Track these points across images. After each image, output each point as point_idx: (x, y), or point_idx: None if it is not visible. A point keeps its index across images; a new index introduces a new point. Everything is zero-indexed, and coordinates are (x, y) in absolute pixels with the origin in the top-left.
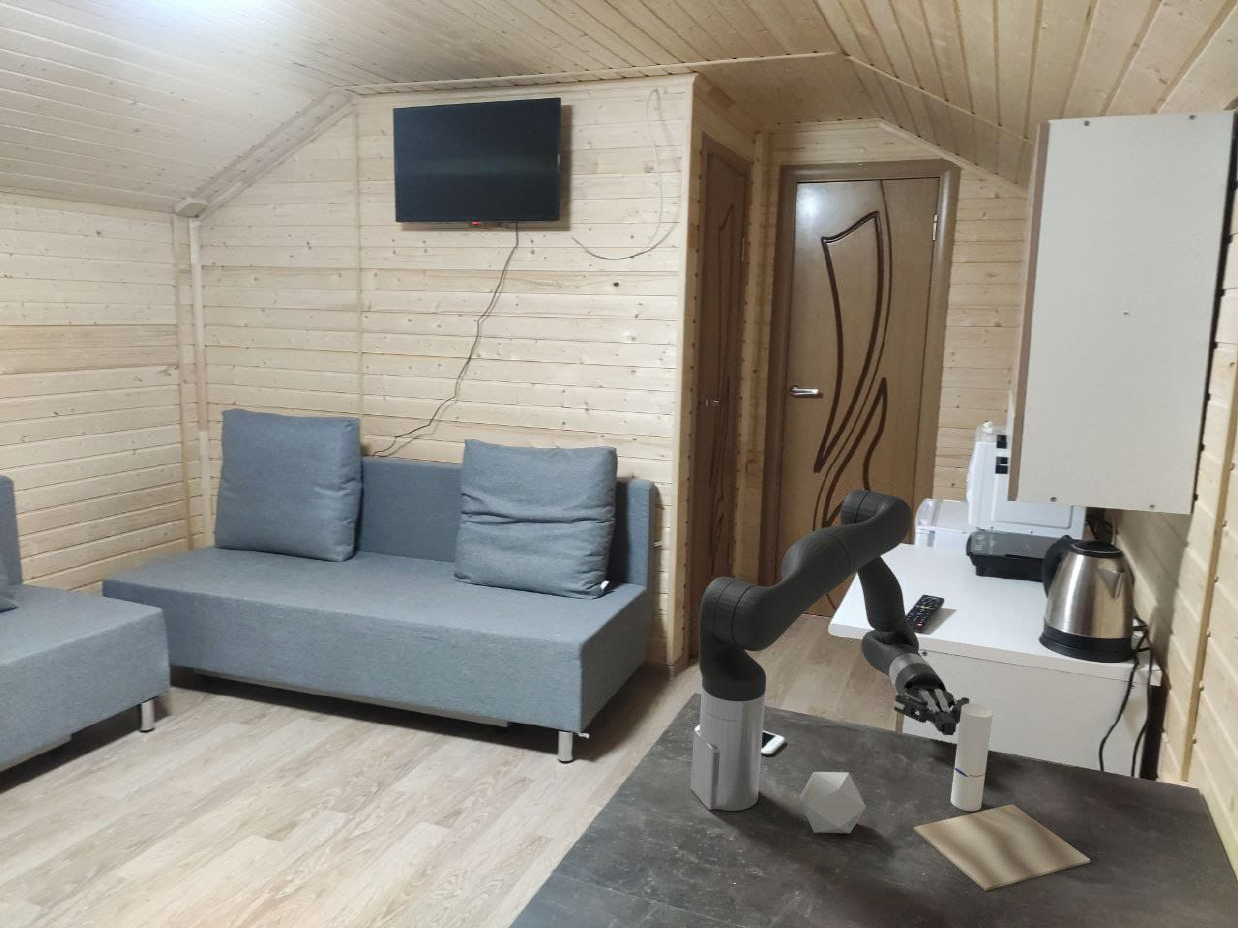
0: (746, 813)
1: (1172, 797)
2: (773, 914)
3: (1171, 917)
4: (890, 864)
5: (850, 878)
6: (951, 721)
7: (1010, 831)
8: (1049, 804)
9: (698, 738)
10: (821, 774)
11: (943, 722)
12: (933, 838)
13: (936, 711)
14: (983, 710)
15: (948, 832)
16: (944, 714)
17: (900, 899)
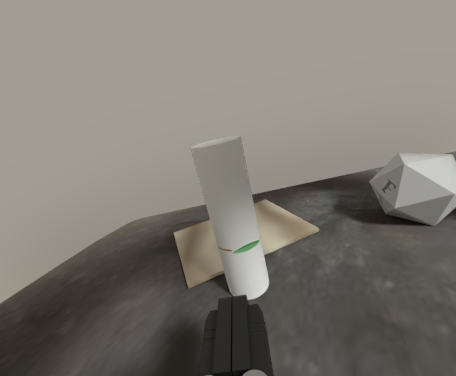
0: None
1: None
2: None
3: (165, 213)
4: (334, 200)
5: (361, 187)
6: (223, 305)
7: None
8: (134, 303)
9: None
10: (437, 155)
11: (247, 311)
12: (298, 221)
13: (256, 370)
14: (204, 144)
15: (282, 230)
16: (229, 351)
17: (322, 186)
